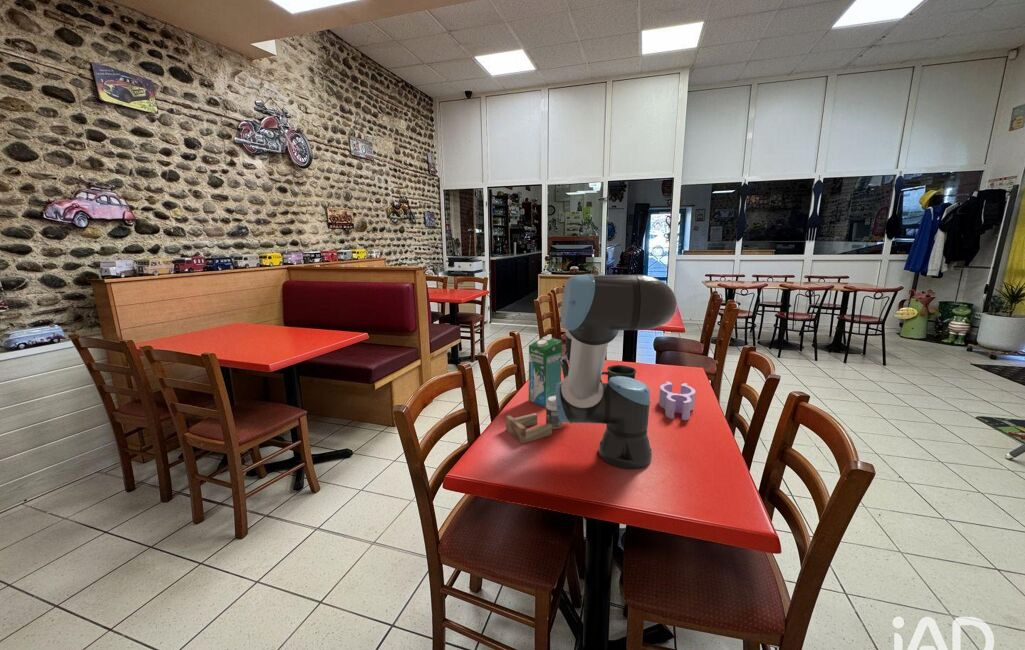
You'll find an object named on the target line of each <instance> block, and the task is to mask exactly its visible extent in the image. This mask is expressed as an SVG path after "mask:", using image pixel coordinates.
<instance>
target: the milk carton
mask: <svg viewBox="0 0 1025 650" xmlns="http://www.w3.org/2000/svg"><path fill="white" fill-rule="evenodd" d="M562 355H563V340H561V339H558V338H555V337H552V336H551V337H550V336H547V335H544V336H543V337H541V338H539V339H538V340H536V341H534V342H533V343H531V344H529V345H528V401H529V402H532V403H534V404H536V405H539V406H541V407H543V408H546V406H547V404H548V397H551V396H556V384H557V383H558V382H562V365H561V363H560V361H559V358H563V356H562Z"/></svg>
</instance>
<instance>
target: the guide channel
mask: <svg viewBox="0 0 1025 650" xmlns="http://www.w3.org/2000/svg"><path fill="white" fill-rule="evenodd" d="M537 424H538V414H537V413H536V412H532V413H528V414H525V415H521V416H518V417H513V416H512V415H510V414H509V415H506V416H505V431H507V432H508V433H509V434H510V435H512V436H513V437H514V438H515V440H517V441H518V442H519V443H520V444H525V443H528V442H529V443H530V442H533V441H536V440H540V439H544V438H546V437H550V436H552V435H553V429H552V425H551V424H550V423H549V424H546V423H545V424H543V425H542V424H541V425H537ZM535 425H537V426H535ZM531 426H535V427H531ZM528 427H531V428H528ZM527 428H528V429H527Z"/></svg>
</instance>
